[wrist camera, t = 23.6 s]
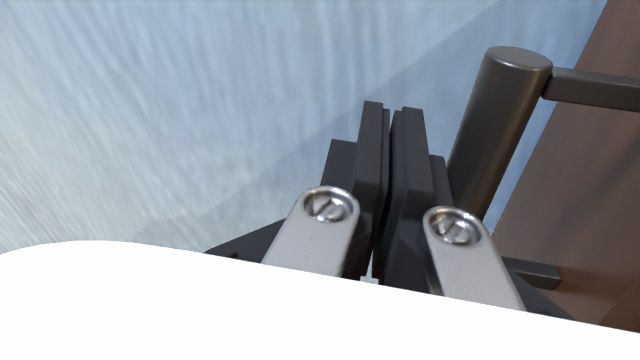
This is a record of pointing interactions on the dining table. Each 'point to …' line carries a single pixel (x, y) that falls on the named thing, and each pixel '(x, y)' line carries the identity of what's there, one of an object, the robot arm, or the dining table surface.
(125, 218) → the dining table surface
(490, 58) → the drawer
